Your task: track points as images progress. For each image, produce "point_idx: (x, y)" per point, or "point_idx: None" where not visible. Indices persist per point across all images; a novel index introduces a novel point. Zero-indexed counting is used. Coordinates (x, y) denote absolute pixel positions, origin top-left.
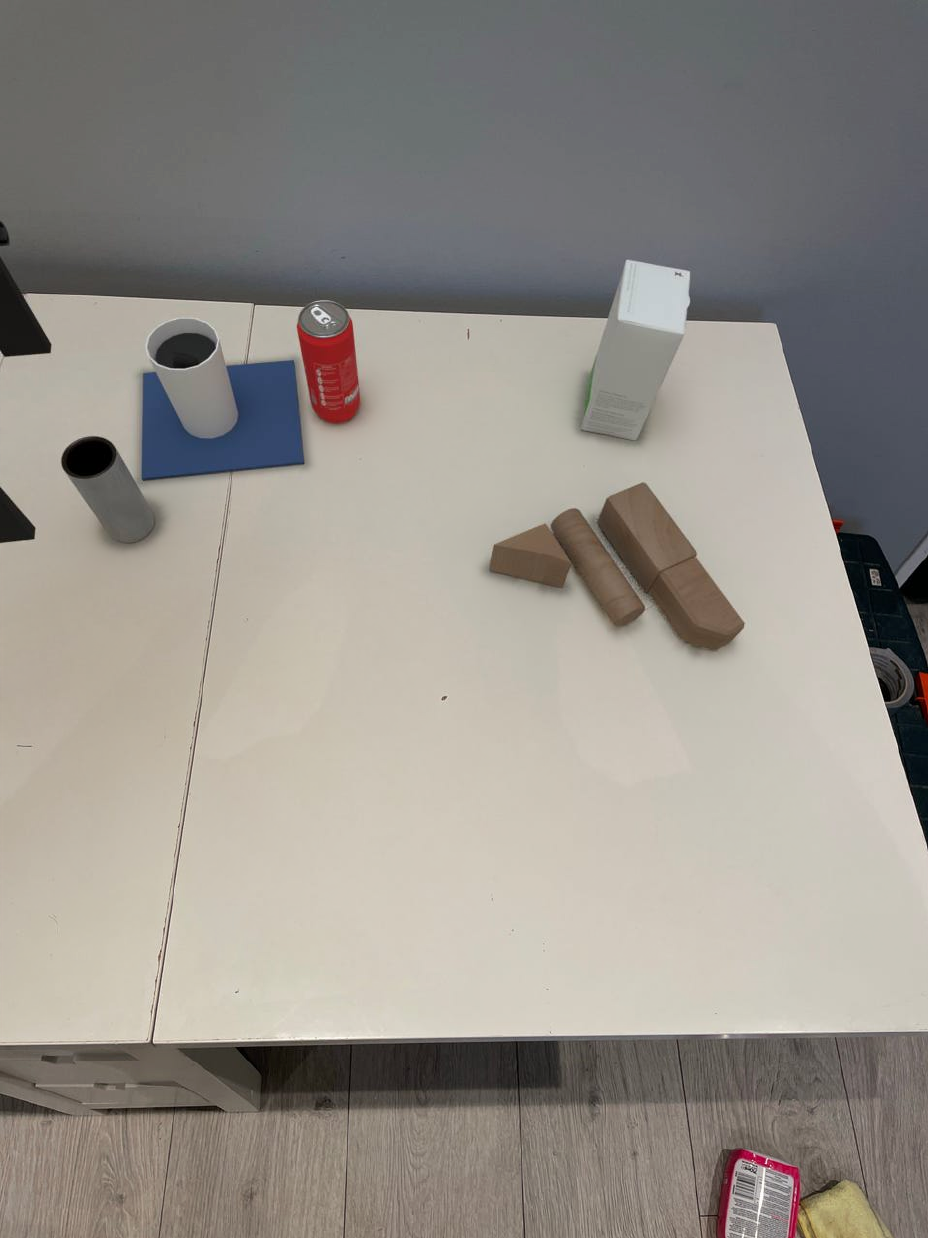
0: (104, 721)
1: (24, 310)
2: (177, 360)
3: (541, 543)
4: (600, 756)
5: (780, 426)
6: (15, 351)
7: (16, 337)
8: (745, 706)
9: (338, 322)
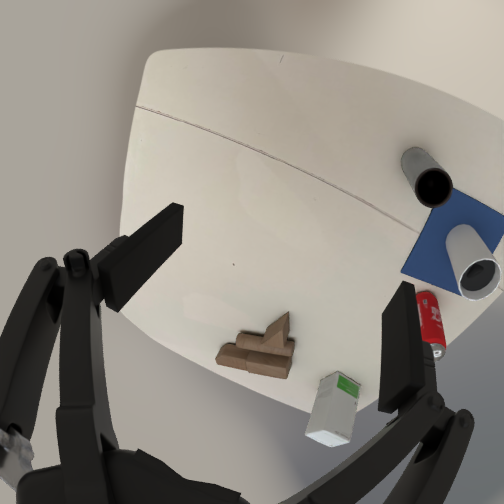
0: (280, 103)
1: (381, 356)
2: (474, 270)
3: (272, 343)
4: (194, 297)
5: (299, 406)
6: (396, 295)
7: (392, 315)
8: (201, 340)
9: None
